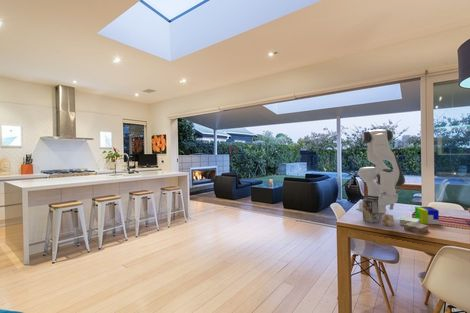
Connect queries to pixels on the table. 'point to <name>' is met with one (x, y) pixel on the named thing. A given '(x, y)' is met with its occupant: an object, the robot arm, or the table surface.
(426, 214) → the puzzle toy
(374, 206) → the coffee box
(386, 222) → the oak block
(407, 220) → the sage block
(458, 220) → the table surface
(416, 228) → the walnut block
